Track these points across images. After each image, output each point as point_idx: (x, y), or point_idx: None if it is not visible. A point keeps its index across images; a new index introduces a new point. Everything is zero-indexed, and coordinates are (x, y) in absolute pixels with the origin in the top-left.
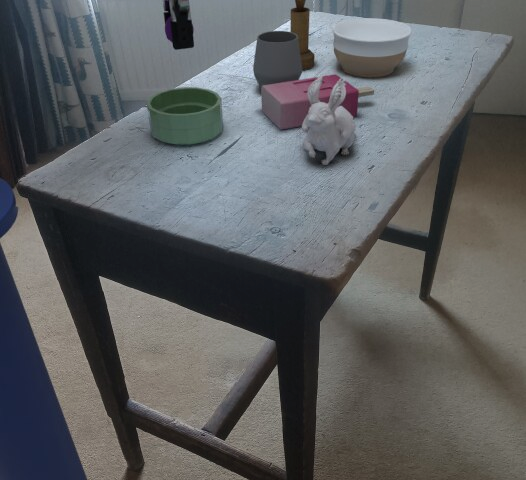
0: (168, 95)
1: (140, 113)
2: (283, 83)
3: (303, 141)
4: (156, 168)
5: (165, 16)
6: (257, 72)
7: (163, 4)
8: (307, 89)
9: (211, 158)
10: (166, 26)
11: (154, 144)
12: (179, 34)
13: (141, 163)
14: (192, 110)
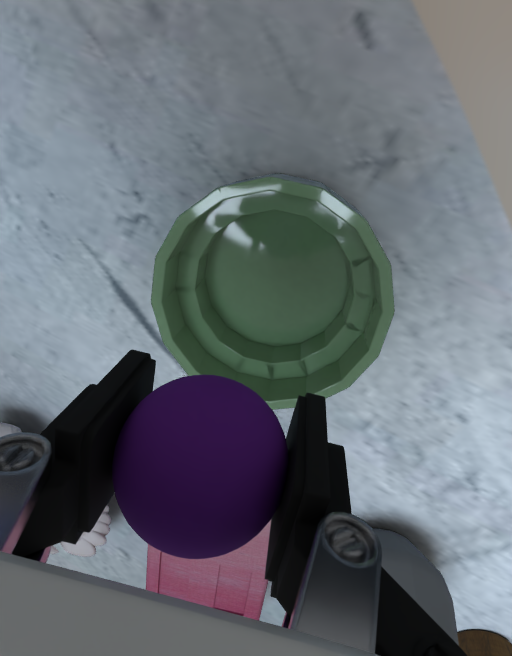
0: (378, 294)
1: (494, 213)
2: (260, 558)
3: (7, 432)
4: (108, 108)
5: (298, 478)
6: (385, 561)
7: (368, 560)
8: (197, 570)
9: (107, 260)
10: (185, 409)
11: (252, 163)
12: (66, 412)
13: (154, 78)
14: (331, 332)
